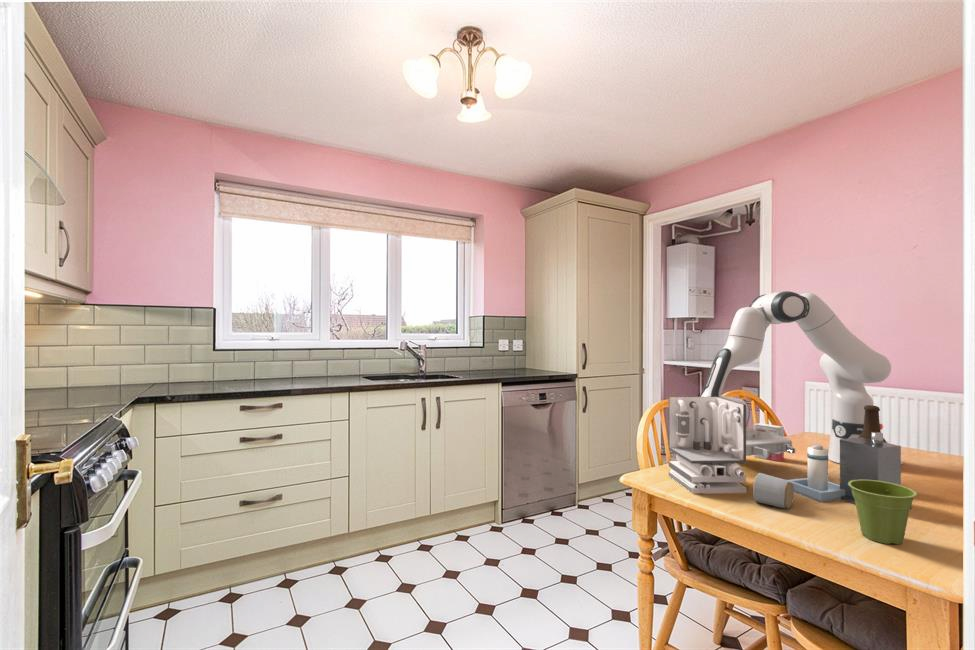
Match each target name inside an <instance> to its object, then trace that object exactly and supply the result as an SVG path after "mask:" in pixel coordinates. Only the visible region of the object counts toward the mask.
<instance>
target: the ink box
mask: <svg viewBox="0 0 975 650" xmlns="http://www.w3.org/2000/svg"><path fill="white" fill-rule="evenodd" d="M753 429H754V430H766V431H769V432H770V434H775V435H779V436H782V437H785V435H784V432H785V429H784V426H782V425H781V426H780V425H775V424H768V423H760V422H758V423H754V424H753ZM753 457H754V458H757V457H759V459H763V458H765V459H764V460H768V459H771V460H770V461H774V460H777V461H776V462H782V461H783V460H784V459H785V458H784V457H785V452H778V453H771V455H770V456H765V455H759V454H758V455H753Z"/></svg>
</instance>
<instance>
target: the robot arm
mask: <svg viewBox="0 0 975 650" xmlns="http://www.w3.org/2000/svg"><path fill="white" fill-rule="evenodd" d="M794 322H795V323H796V324H797V325H798V326H799V328H800V330H801V331H802V332H803V333H804V335H805V336H806V337H807V339H808V340H809V341H811V343H812V345H814V347H815V348H816V349H817V350H819V351H821V352H823V354H822V355H821V357H820V359H819V367H820V369H821V371H822V372H823V374H824V375H825V376H826V378H827V380H828V384H829V386H830V390H831V394H832V400H833V401H832V403H833V419H831V421H832V422H831V429H832V430H833V431H832V432H831V433H830V437H829V446H828V461H831V462H834V463H837V464H840V439H849V438H858V437H859V436H860V435H861V434H862V432H863V428H864V415H865V410H864V406H866V405H873V406H874V400H873V398H872V396H871V395H870V394H869V393H868V391H867V389H866V388H865V384H874V383H881V382H883V381H885V380H886V379H888V378H889V376H890V375H891V371H892V364H891V362H890V360H889V359H888V358H887V357H886V356H885V355H884V354H881V353H879V352H877V351H875V350H874V349H872V348H871V347H869V346H868V344H867V343H865V342H864V341H862V340H861V339H859V338H858V337H857V336H856V335H854V334H853V333H852V332H851V331H850V330H849V329H848V328H847V327H846V326H845V324H844V323H843V322H842V321H841V319H840V318H839V317H838V315H837V314H836V313H835V312H834V311H833V310H832V309H831V307H830V306H829V305H828V304H827V303H826V302H825V301H824V300H822V299H821V298H820V297H819V296H818V295H817V294H815V293H813V292H804V293H800V294H799V293H797V292H793V291H790V290H789V291H788V290H787V291H786V290H785V291H774V292H770V293H767V294H761V295H759V296H757V297H756V298H754V299H753V300H752V302H751V303H750V304H749V306H746V307H742V308H739V309H738V310H737V311H736V312H735V315H734V317H733V320H732V322H731V324H730V328H729V329H730V330H729V333H728V336H727V340H726V343H725V344H724V346H723V348H722V349H720V350H718V352H717V353H716V354H715V356H714V359H713V360H712V364H711V367H710V369H709V373H708V375H707V378H706V381H705V383H704V386H703V388H702V392H701V393H700V395H699V396H698V397H720V398H724V399H727V400H731V401H734V402H738V403H741V404H745V405H746V457H747V456H748V457H749V456H754V455H758V454H759V455H765V456H770V455H771V453H778V452H784V453H785V452H786V453H788V454H796V447H794V446H793V441H792V439H789V438H788V437H785V436H784V437H782V436H779V435H775V434H770V432H769V431H766V430H754V428H750V427H748V424H749V421H750V417H751V416H750V415H751V410H750V407H749V405H748V403H747V402H746V401H745V400H744V399H741V398H738V397H732V396H726V395H725V396H724V395H722V393H723V392H722V391H723V390H724V387H725V383H726V381H727V378H728V376H729V374H730V372H731V371H732V370H733V369H734V368H735V369H736V368H738V367H739V366H744V365H747V364H751V363H752V362H755V361H756V360H757V359H758V358H759V357H760V356H761V353H762V351H763V347H764V341H765V336H766V332H767V329H768V327H769V326H770V325H780V324H785V323H787V324H789V323H790V324H791V323H794ZM883 428H884V425H883V423H880V431H882V430H883ZM886 442H887V443H889V442H888V441H887V440H886ZM903 464H904V463H903V461H902V460H901V465H903Z"/></svg>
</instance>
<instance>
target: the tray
mask: <svg viewBox="0 0 975 650" xmlns="http://www.w3.org/2000/svg"><path fill="white" fill-rule="evenodd" d="M786 480H787V481H789V482H791V483H792V484H793V487H794V494H799V495H800V494H801V496H804V497H806V498H810V499H811V500H813V501H817V502H819V503H827V502H834V501H842V500H841V496H845V490H844V489H840V484H838V483H835V482H831V481H829V480H828V491H818V490H815V489H812V488H810V487H808V477H805V478H795V479H794V478H793V479H786Z"/></svg>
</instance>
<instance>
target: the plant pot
mask: <svg viewBox="0 0 975 650" xmlns="http://www.w3.org/2000/svg"><path fill="white" fill-rule="evenodd" d="M848 485H849V486H850V487H851V489H852V494H853V497H854V498H855V503H856V505H855V507H856V512H857V517H858V523H859V526H860V531H861V534H862V535H863V536H865V538H867V539H869V540H871V541H873V542H878V543H880V544H886V545H887V544H888V545H889V544H894V545H900V544H903V543H904V540H905V534H906V529H907V524H908V519H909V515H910V510H911V509H910V507H911V508H912V505H913V501H914V498H915V497H918V496H917V495H918V494H917V492H916V491H915V490H913V489H912V488H909V487H906V486H904V485H902V484H901V485H897V484H893V483H889V482H883V481H877V480H852V481H849V482H848Z"/></svg>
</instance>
